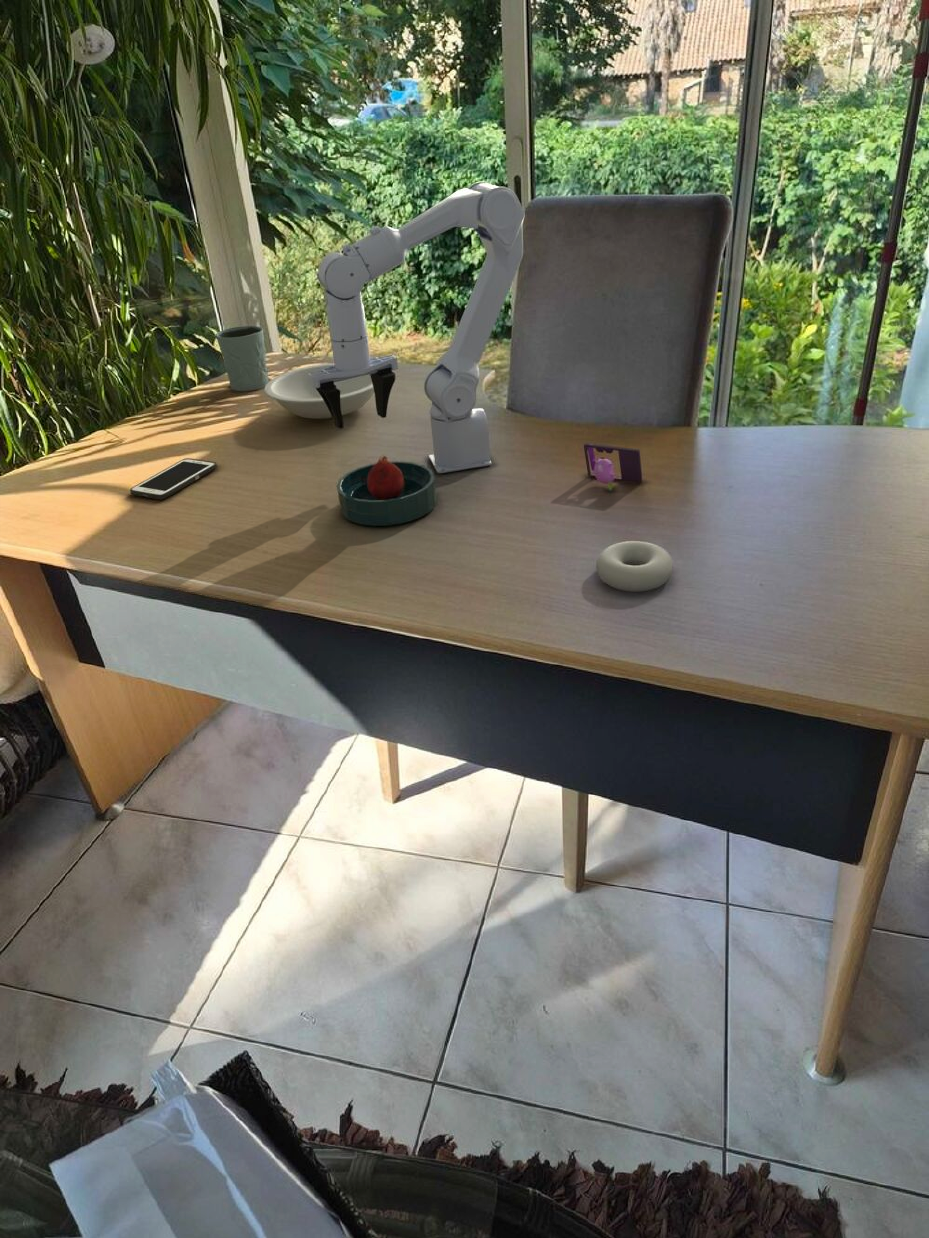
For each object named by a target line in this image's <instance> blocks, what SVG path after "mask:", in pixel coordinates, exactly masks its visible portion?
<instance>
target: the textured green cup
mask: <svg viewBox="0 0 929 1238" xmlns="http://www.w3.org/2000/svg"><path fill="white" fill-rule="evenodd" d="M215 337H216V340H217V345H218V346H219V350H220V353H221V356H222V360H223V363H224V367H225V371H226V374H227V377H228V381H229V385H230V389H231V390H233V391H236V392H250V391H251V392H252V391H257V390H260V389H263V388H265V385H266V384H267V383H268V382H269V381H270V380H269V375H268V372H269V371H268V367H267V356H266V347H265V335H264V329H263V327H261V326H258V325H257V326H256V325H242V326H233V327H229V328H225V329H222V330H219V331H218V332H217V333H216V334H215Z"/></svg>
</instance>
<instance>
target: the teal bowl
mask: <svg viewBox="0 0 929 1238" xmlns="http://www.w3.org/2000/svg"><path fill="white" fill-rule="evenodd" d="M390 462H391V463H393V464H394V465H396V466H397V467H398V468H399V469H400V470H401V472H402V474H403V478H404V488H403V490H402V492H401V494H400V495H399V496H398V497H397V498H394V499H388V500H376V499H375V498H374V497H373V496H372V495H371V494H370V492H369V490H368V487H367V476H368V473H369V471H370V470H371V468H372V467H373V466H374V465H375V464H377V463H378V462H375V463H370V464H366V465H363V466H360V467H357V468H355V469H353V470H351V471H349V472H347V473H345V474H344V475H342V477H341V478H339V479H338V482H337V484H336V492H337V497H338V504H339V509H340V512H341V515H342V516H343V517H344V518H346V520H348V521H350V522H353V523H356V524H359V525H363V526H372V527H373V526H374V527H377V526H378V527H381V526H394V525H399V524H404V523H407V522H411V521H414V520H417V519H419V518H421V517H423V516H425V515H426V514H428V513H430V512H431V511H432V510H433V509H434V507H436V504H437V502H438V501H437V500H438V495H437V485H436V475H435V473H434V471H433V470H432V469H431V468H429V467H427V466H426V465H424V464H420V463H417V462H413V461H403V460H397V461H396V460H395V461H394V460H393V461H390Z"/></svg>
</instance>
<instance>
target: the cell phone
mask: <svg viewBox="0 0 929 1238" xmlns="http://www.w3.org/2000/svg"><path fill="white" fill-rule="evenodd" d="M217 468H218V465H217V462H215V461H210V460H203V459H197V458H192V457H191V458H189V457H187V458H186V457H185V458H183V459H180V460H179V461H177V462H174V463H173V464H172V465H170V466H168V467H166V468H164V469H163V470H161V471H159V472H157V473H156V474H154V475H152V476H150V477H148V478H147V479H145V480H143V481H141V482H139V483H138V484H136V485H134V486H132V487H131V488H130V489H129V491H130V494H131V495H133V496H137V497H141V498H142V497H145V498H149V499H155V500H165V499H166V498H168V497H170V496H173V494H175V493H177V492H179V491H181V490H182V489H183V488H186V487H187V486H189V485H190V484H192V483H194V482H196V481H197V480H199V479H201V478H202V477H204V476H205V475H208V474H209V473H211V472H212V471H214V470H215V469H217Z"/></svg>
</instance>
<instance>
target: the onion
mask: <svg viewBox="0 0 929 1238" xmlns="http://www.w3.org/2000/svg"><path fill="white" fill-rule="evenodd" d="M391 462H392V461H388V456H386V455H381V456H379V459H378V461H377V462H376V463H377V464H375V463H374V464H375V465H374V466H373V467H372V468H371V470H370V471H369V473H368V476H367V487H368V490H369V492H370V494H371V495H372V496H373V497H374V498H375V499H376V500H388V499H394V498H397V497H398V496H399V495H400V494H401V492H402V490H403V488H404V478H403V474H402V472H401V470H400V469H399V468H398V467H397V466H396V465H394V464H393V463H391Z"/></svg>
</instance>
